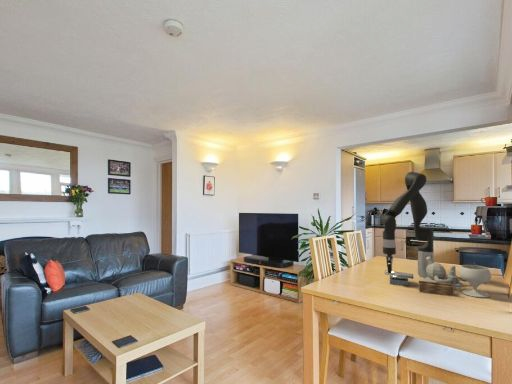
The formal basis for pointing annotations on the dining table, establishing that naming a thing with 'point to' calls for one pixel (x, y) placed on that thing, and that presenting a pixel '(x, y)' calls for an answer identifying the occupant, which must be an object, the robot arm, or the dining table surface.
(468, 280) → the chalice
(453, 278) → the grey faceted sculpture
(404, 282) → the V-block
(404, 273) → the axle
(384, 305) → the dining table surface
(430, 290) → the grooved beam
